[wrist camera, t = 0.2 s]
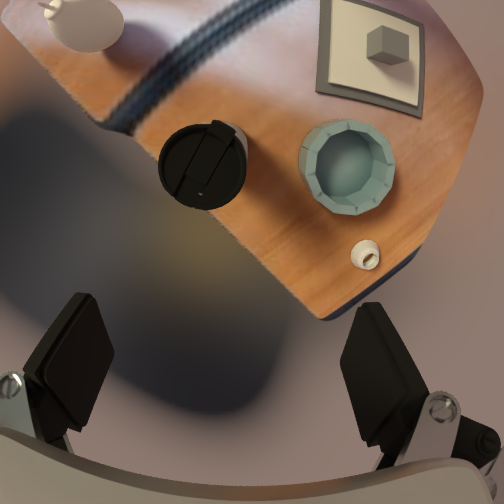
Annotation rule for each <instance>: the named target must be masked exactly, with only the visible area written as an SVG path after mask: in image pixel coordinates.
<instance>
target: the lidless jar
mask: <svg viewBox="0 0 504 504" xmlns="http://www.w3.org/2000/svg"><path fill="white" fill-rule="evenodd" d="M369 254H373V256H372V257H371V259H370V260H368V261H367V262H364V263H363V259H364V258H367V257H368V256H369ZM351 261H352V263H353V264H354V265H355V266H356V267H358V268H361V269H367V270H369V269H373V268H374V267H375V266H376V265H377V264H378V262H379V247H378V246H377V244H376V243H375V242H374V241H372V240H363V241H360V242H359V243H357V244H356V245H355V246H354V248H353V249H352V251H351Z"/></svg>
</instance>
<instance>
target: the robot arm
mask: <svg viewBox="0 0 504 504" xmlns="http://www.w3.org/2000/svg"><path fill="white" fill-rule="evenodd" d="M113 358H114V349H113V346H112V344H111V341H110V339H109V336H108V333H107V331H106V328H105V325H104V322H103V319H102V317H101V314H100V311H99V308H98V304H97V301H96V299H95V298H93V297H92V295H91V294H89V293H79V292H77V293H76V294H74V296H73V297H72V298H71V299H70V301H69V302H68V303H67V305H66V306H65V307H64V309H63V310H62V311H61V313H60V314H59V315H58V317H57V318H56V320H55V321H54V322H53V323H52V325H51V326H50V328H49V329H48V331H47V332H46V333H45V335H44V336H43V338H42V339H41V341H40V342H39V344H38V346H37V347H36V348H35V350H34V351H33V353H32V354H31V356H30V357H29V359H28V361H27V362H26V364H25V365H24V367H23V371H24V372H25V374H24V376H22V375H21V374H20V373H19V372H17V371H8V372H6V373H4V374H3V375H1V376H0V504H504V446H503V447H502V448H501V442H500V438H499V436H498V434H497V432H496V431H494V430H493V429H492V428H490V427H488V426H485V425H483V424H480V423H478V422H476V421H473V420H471V419H469V418H467V417H464V416H462V415H461V408H460V405H459V403H458V401H457V400H456V398H455V397H454V396H452V395H451V394H449V393H447V392H443V391H436V392H433V393H431V394H430V393H429V391H428V388H427V386H426V384H425V382H424V380H423V379H422V376H421V374H420V372H419V370H418V369H417V367H416V365H415V363H414V361H413V359H412V357H411V355H410V354H409V352H408V350H407V348H406V346H405V345H404V343H403V341H402V339H401V337H400V336H399V334H398V332H397V331H396V329H395V327H394V325H393V324H392V322H391V320H390V318H389V317H388V315H387V313H386V312H385V310H384V308H383V307H382V305H381V304H380V303H379V302H365V303H363V304H362V306H361V307H358V309H357V311H356V314H355V317H354V321H353V324H352V327H351V330H350V333H349V336H348V339H347V341H346V344H345V347H344V350H343V353H342V355H341V358H340V367H341V370H342V373H343V377H344V380H345V383H346V387H347V390H348V393H349V397H350V400H351V403H352V407H353V411H354V414H355V417H356V421H357V425H358V428H359V432H360V435H361V439H362V440H363V441H366V443H367V446H368V447H372V446H376V445H380V449H381V452H382V453H381V454H380V456H379V458H378V460H377V462H376V464H375V465H374V467H373V469H372V471H371V472H369V473H364V474H360V475H355V476H350V477H344V478H338V479H333V480H326V481H319V482H311V483H303V484H292V485H277V486H223V485H208V484H198V483H189V482H181V481H174V480H168V479H162V478H156V477H151V476H146V475H142V474H137V473H133V472H129V471H125V470H121V469H117V468H114V467H110V466H107V465H104V464H100V463H97V462H94V461H91V460H88V459H85V458H82V457H80V456H77V455H75V454H74V452H73V449H72V447H71V444H70V442H69V439H68V436H67V433H66V431H67V429H68V428H69V429H72V430H75V431H77V432H81V430H82V427H84V426H86V424H87V422H88V420H89V417H90V414H91V412H92V409H93V406H94V404H95V401H96V399H97V396H98V393H99V391H100V389H101V386H102V384H103V381H104V379H105V376H106V374H107V372H108V370H109V367H110V365H111V363H112V360H113Z"/></svg>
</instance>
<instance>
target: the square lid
mask: <svg viewBox="0 0 504 504" xmlns="http://www.w3.org/2000/svg"><path fill="white" fill-rule="evenodd" d="M328 83H331V84H337V85H341V86H346V87H350V88H355V89H359V90H363V91H367V92H371V93H375V94H378V95H382V96H385V97H389V98H392V99H395V100H398V101H401V102H404V103H407V104H410V105H413V106H417V104H418V90H419V27H417V26H415V25H413V24H410V23H408V22H406V21H403V20H401V19H398V18H396V17H393V16H391V15H388V14H385V13H382V12H380V11H377V10H374V9H371V8H368V7H364V6H361V5H358V4H354V3H351V2H347V1H343V0H332V12H331V42H330V61H329V76H328Z"/></svg>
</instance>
